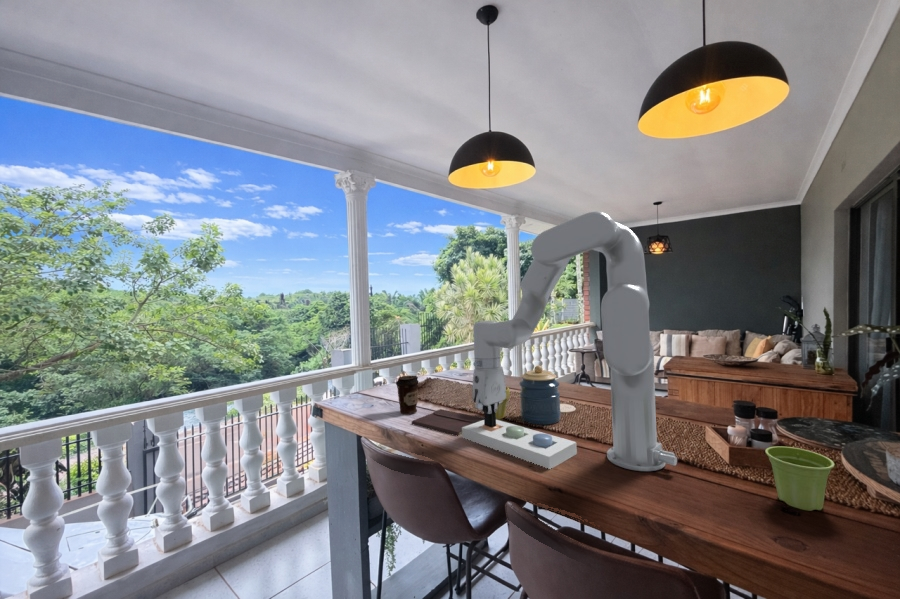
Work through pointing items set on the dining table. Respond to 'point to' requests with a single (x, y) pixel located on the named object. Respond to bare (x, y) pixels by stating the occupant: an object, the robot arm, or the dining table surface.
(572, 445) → the button panel
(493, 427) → the rust button
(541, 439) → the slate button
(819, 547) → the dining table surface
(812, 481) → the plant pot
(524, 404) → the canister
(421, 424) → the notebook
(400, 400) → the coffee cup
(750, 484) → the dining table surface
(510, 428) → the sage button
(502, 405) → the plant pot
